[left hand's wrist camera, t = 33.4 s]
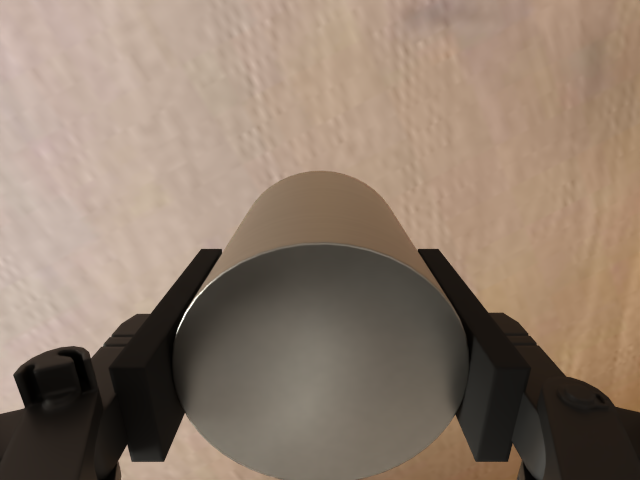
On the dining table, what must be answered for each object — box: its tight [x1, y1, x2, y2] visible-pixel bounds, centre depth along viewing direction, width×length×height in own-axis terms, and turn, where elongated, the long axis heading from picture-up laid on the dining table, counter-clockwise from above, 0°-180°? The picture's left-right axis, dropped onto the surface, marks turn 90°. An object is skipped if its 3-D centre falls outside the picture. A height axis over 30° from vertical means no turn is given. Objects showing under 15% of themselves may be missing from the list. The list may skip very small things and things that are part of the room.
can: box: [172, 171, 470, 480], centre depth 13 cm, size 7×7×8 cm
